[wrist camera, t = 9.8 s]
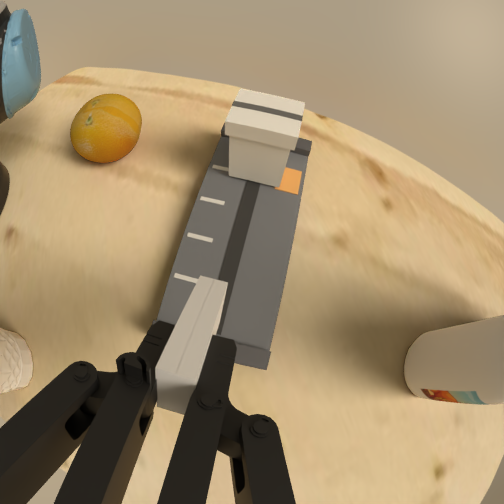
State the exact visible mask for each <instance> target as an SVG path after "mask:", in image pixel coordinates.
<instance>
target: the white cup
mask: <svg viewBox="0 0 504 504" xmlns="http://www.w3.org/2000/svg"><path fill="white" fill-rule="evenodd" d="M32 371H33V361H32V356H31V351H30V349H29V347H28V345H27V343H26V341H25V340H24V339H23V338H22V337H21V336H20V335H19V334H17V333H15V332H11V331H7V330H4V329H2V328H0V393H6V392H10V391H14V390H20V389H22V388H24V387H26V386H27V385H28V384H29V382H30V380H31V378H32Z"/></svg>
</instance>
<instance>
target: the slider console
mask: <svg viewBox="0 0 504 504" xmlns="http://www.w3.org/2000/svg"><path fill="white" fill-rule="evenodd" d="M311 143H312V141H309V140H306V139H302V138H298V140H297V144H296V147H295V150H290V153H289V156H288V160H287V163H286V167H285V170H284V173H283V177H282V180H281V183H280V187H279V188H278V187H274V186H270V185H266V184H262V183H258V182H254V181H250V180H245V179H241V178H237V177H232V176H229V135H225V123H224V125H223V127H222V130H221V138H220V140H219V143H218V145H217V148H216V150H215V153H214V155H213V157H212V160H211V162H210V165H209V167H208V170H207V172H206V175H205V178H204V180H203V183H202V185H201V188H200V191H199V193H198V196H197V199H196V201H195V204H194V207H193V209H192V212H191V215H190V218H189V220H188V223H187V226H186V229H185V232H184V235H183V238H182V241H181V243H180V246H179V249H178V252H177V255H176V258H175V262H174V265H173V268H172V271H171V274H170V277H169V280H168V284H167V287H166V290H165V293H164V297H163V300H162V303H161V307H160V310H159V314H158V317H157V321H159V320H160V321H164V322H167V323H170V324H174V325H176V323H177V321H178V319H179V317H180V315H181V313H182V311H183V309H184V307H185V305H186V303H187V301H188V299H189V297H190V295H191V293H192V291H193V289H194V287H195V285H196V283H197V281H198V279H199V277H200V275H201V276H204V277H208V278H212V279H216V280H220V281H224V282H228V285H227V290H226V295H225V299H224V304H223V309H222V314H221V319H220V323H219V326H218V329H217V333H216V336H220V337H224V338H228V339H233V340H234V341H235V344H236V347H237V352H236V357H235V362H234V363H237V364H241V365H245V366H250V367H254V368H259V369H263V370H267V366H268V362H269V358H270V353H271V351H270V346H271V342H272V338H273V333H274V329H275V325H276V320H277V316H278V311H279V306H280V302H281V297H282V293H283V288H284V283H285V278H286V274H287V269H288V264H289V259H290V254H291V249H292V244H293V239H294V233H295V228H296V223H297V217H298V212H299V207H300V201H301V195H302V190H303V184H304V178H305V172H306V166H307V160H308V156H309V153H310V150H311ZM157 321H155V320H153V323H152V325H153V324H155V323H156V322H157Z"/></svg>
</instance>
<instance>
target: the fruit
mask: <svg viewBox="0 0 504 504" xmlns="http://www.w3.org/2000/svg"><path fill="white" fill-rule="evenodd" d="M141 125H142V118H141V114H140V111H139V109H138V107H137V106H136V105H135V103H134V102H133V101H131V100H130V99H129V98H127V97H125V96H122V95H119V94H103V95H99V96H97V97H95V98H93V99H91V100H90V101H88V102H87V103H86V104H85V105H84V106H83V107H82V108H81V109H80V110H79V112H78V113H77V114H76V116H75V118H74V120H73V122H72V125H71V129H70V137H71V142H72V145H73V147H74V148H75V150H76V151H77V152H78V153H79V154H80V155H81V156H82V157H84V158H85V159H87V160H90V161H93V162H100V163H106V162H113V161H116V160H119V159H121V158H122V157H124V156H125V155H127V154H128V153H129V152H130V151H131V150H132V149H133V148H134V146H135V145H136V143H137V141H138V139H139V135H140V131H141Z"/></svg>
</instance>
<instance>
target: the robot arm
mask: <svg viewBox="0 0 504 504" xmlns="http://www.w3.org/2000/svg"><path fill="white" fill-rule="evenodd" d="M40 82H41V69H40V58H39V51H38V45H37V40H36V34H35V30H34V26H33V22H32V19H31V17H30V16H29V14H28V11H27V10H26V9H21V10H16V11H14V12H13V13H12V14H11V13H10V12H9V10H8V8H7V5H6V3H5V1H0V124H1V123H2V122H3V121H5V120H6V119H7V118H9V119H10V118H12V117H13V116H14V114H15V113H16V112H17V111H19V110H20V109H21V108H23V107H24V106H25V105H27V104H28V103H30V102H31V101H32V100H33V99H34V98H35V97H36V95H37V93H38V91H39V88H40ZM8 190H9V173H8V170H7V169H6V167H5V166H4V165H3V164H2V163H1V162H0V214H1V212H2V210H3V207H4V205H5V202H6V198H7V195H8ZM227 285H228V282H224V281H220V280H216V279H212V278H208V277H204V276H201V275H200V277H199V279H198V281H197V283H196V285H195V287H194V289H193V291H192V293H191V295H190V297H189V299H188V301H187V303H186V305H185V307H184V309H183V311H182V313H181V315H180V317H179V319H178V321H177V323H176V325H174V324H170V323H167V322H164V321H160V320H159V321H157V322H156V323H155V324H153V325H152V326H151V327H150V329H149V330H148V332H147V335H146V336H145V337H144V339H143V342H142V343H141V344H140V346H139V348H138V350H137V352H136V353H134V352H129V353H124V354H122V355H120V356H119V357H118V358H117V359H116V364H117V369H118V372H102V371H97V370H96V368H95V367H94V366H93V365H92V364H90V363H88V362H85V361H78V362H74V363H73V364H71V365H70V366H68V367H67V368H66V369H65V370H64V371H63V372H62V373H60V374H59V375H58V376H57V377H56V378H55V379H54V380H52V381H51V382H50V383H49V384H48V385H47V386H46V387H45V388H44V389H42V390H41V391H40V392H39V393H38V394H37V395H36V396H35V397H34V398H32V399H31V400H30V401H29V402H28V403H27V404H26V405H25V406H24V407H23V408H21V409H20V410H19V411H18V412H17V413H16V414H15V415H14V416H13V417H12V418H11V419H10V420H9V421H7V422H6V423H5V424H4V425H3V426H2V427H1V428H0V504H27V502H28V501H29V500H30V499H31V498H32V497H33V496H34V495H35V494H36V493H37V491H38V490H39V489H40V488H41V487H42V486H43V485H44V484H45V483H46V481H47V480H48V479H49V478H50V477H51V476H52V475H53V474H54V473H55V472H56V470H57V469H58V468H59V467H60V466H61V465H62V464H63V463H64V462H65V460H66V459H67V458H68V457H69V456H70V455H71V454H72V453H73V452H74V451H75V449H76V448H77V447H78V446H79V445H80V444H81V445H80V447H79V449H78V451H77V453H76V456H75V458H74V460H73V462H72V464H71V466H70V468H69V470H68V473H67V475H66V477H65V479H64V481H63V484H62V486H61V488H60V490H59V493H58V495H57V497H56V500H55V502H54V504H121V503H122V500H123V497H124V495H125V492H126V489H127V486H128V483H129V480H130V478H131V475H132V472H133V469H134V467H135V464H136V461H137V458H138V456H139V453H140V450H141V448H142V445H143V442H144V440H145V437H146V434H147V432H148V429H149V427H150V424H151V421H152V419H153V414H154V412H153V409H154V407H155V404H156V402H157V407H160V408H164V409H167V410H170V411H173V412H177V413H180V414H183V415H184V418H183V422H182V425H181V428H180V431H179V434H178V438H177V441H176V444H175V447H174V450H173V454H172V457H171V460H170V463H169V467H168V470H167V473H166V476H165V480H164V483H163V486H162V490H161V493H160V496H159V500H158V503H157V504H206V499H207V494H208V490H209V485H210V480H211V476H212V471H213V466H214V462H215V457H216V452H217V450H218V451H220V452H222V453H224V454H226V455H228V456H229V457H230V465H231V473H232V481H233V489H234V497H235V504H296V503H295V499H294V494H293V490H292V486H291V482H290V477H289V473H288V469H287V465H286V460H285V456H284V452H283V447H282V443H281V439H280V434H279V430H278V427H277V425H276V423H275V422H274V421H273V420H272V419H271V418H270V417H267V416H265V415H260V414H255V415H250V416H248V415H246V414H244V413H242V412H241V411H239V410H237V409H236V408H235V407H234V406H233V405H232V404H231V402H230V401H229V397H228V391H229V386H230V381H231V376H232V371H233V366H234V362H235V357H236V352H237V347H236V344H235V341H234V340H233V339H228V338H224V337H220V336H216V333H217V329H218V326H219V323H220V319H221V314H222V309H223V304H224V299H225V295H226V290H227Z"/></svg>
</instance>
